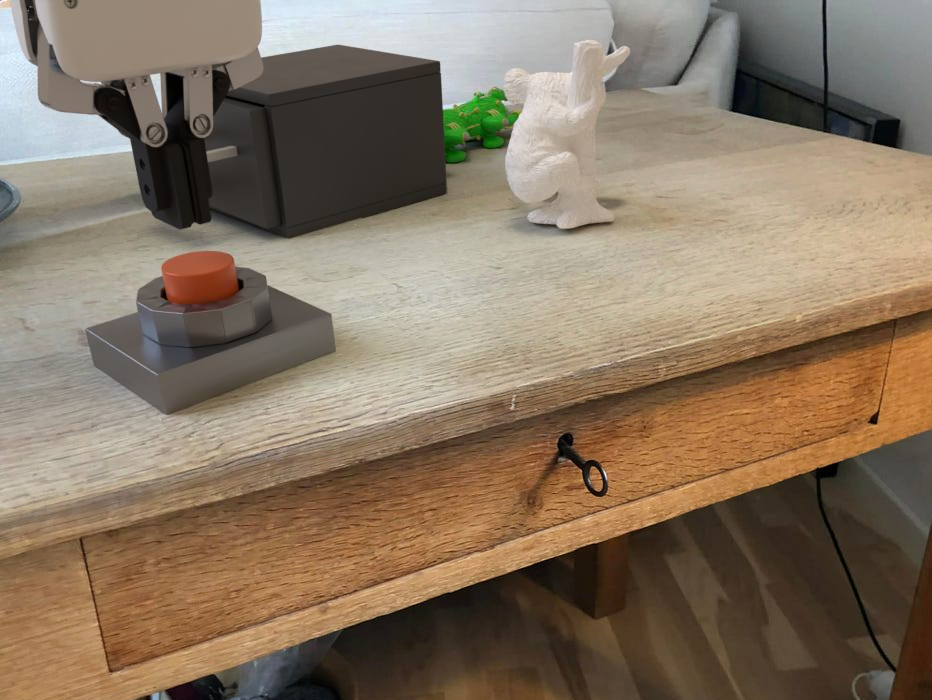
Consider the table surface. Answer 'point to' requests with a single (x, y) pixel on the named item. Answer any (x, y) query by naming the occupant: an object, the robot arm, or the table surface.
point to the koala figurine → (560, 136)
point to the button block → (208, 342)
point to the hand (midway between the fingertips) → (181, 219)
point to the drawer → (242, 163)
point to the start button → (200, 277)
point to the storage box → (349, 133)
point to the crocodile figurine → (476, 122)
